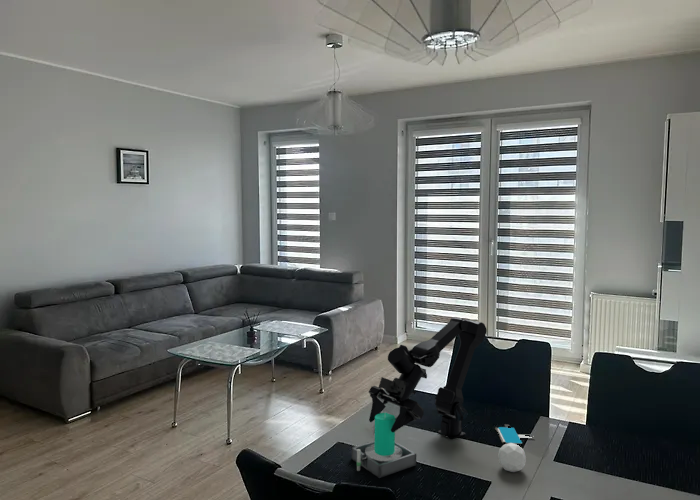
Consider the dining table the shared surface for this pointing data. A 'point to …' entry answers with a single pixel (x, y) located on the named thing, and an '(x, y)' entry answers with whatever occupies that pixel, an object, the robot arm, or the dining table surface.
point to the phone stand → (509, 435)
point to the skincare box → (391, 408)
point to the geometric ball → (512, 457)
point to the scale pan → (380, 458)
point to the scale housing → (387, 467)
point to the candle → (384, 434)
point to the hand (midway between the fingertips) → (380, 426)
